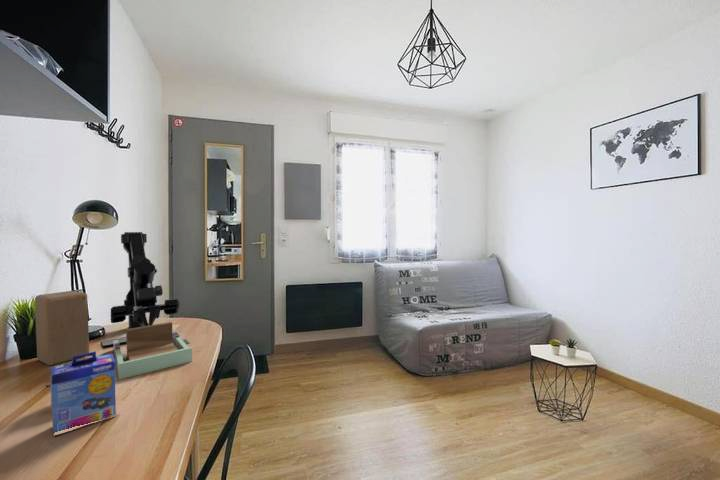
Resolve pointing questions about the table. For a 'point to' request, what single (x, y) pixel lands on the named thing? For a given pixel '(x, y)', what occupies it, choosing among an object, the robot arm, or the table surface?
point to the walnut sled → (149, 340)
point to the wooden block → (61, 326)
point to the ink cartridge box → (83, 391)
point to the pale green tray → (153, 359)
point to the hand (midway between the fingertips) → (149, 332)
